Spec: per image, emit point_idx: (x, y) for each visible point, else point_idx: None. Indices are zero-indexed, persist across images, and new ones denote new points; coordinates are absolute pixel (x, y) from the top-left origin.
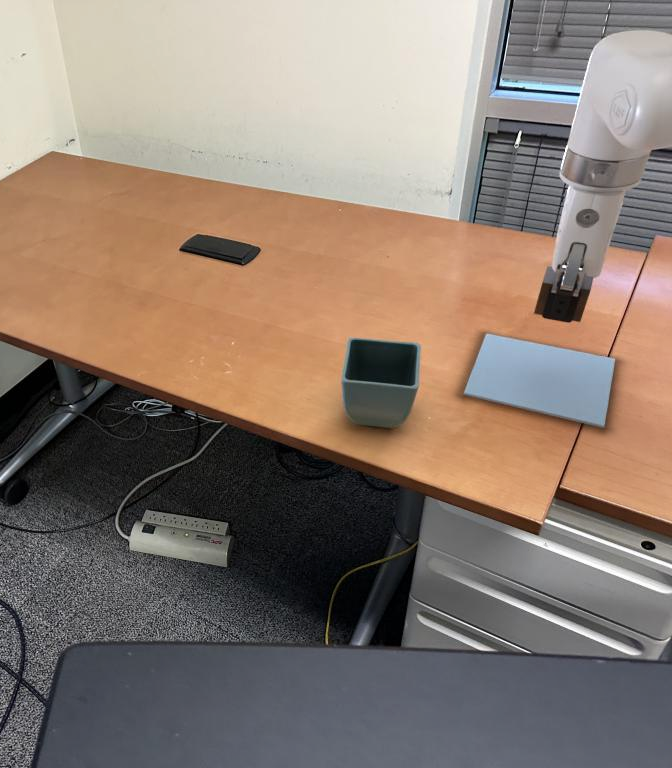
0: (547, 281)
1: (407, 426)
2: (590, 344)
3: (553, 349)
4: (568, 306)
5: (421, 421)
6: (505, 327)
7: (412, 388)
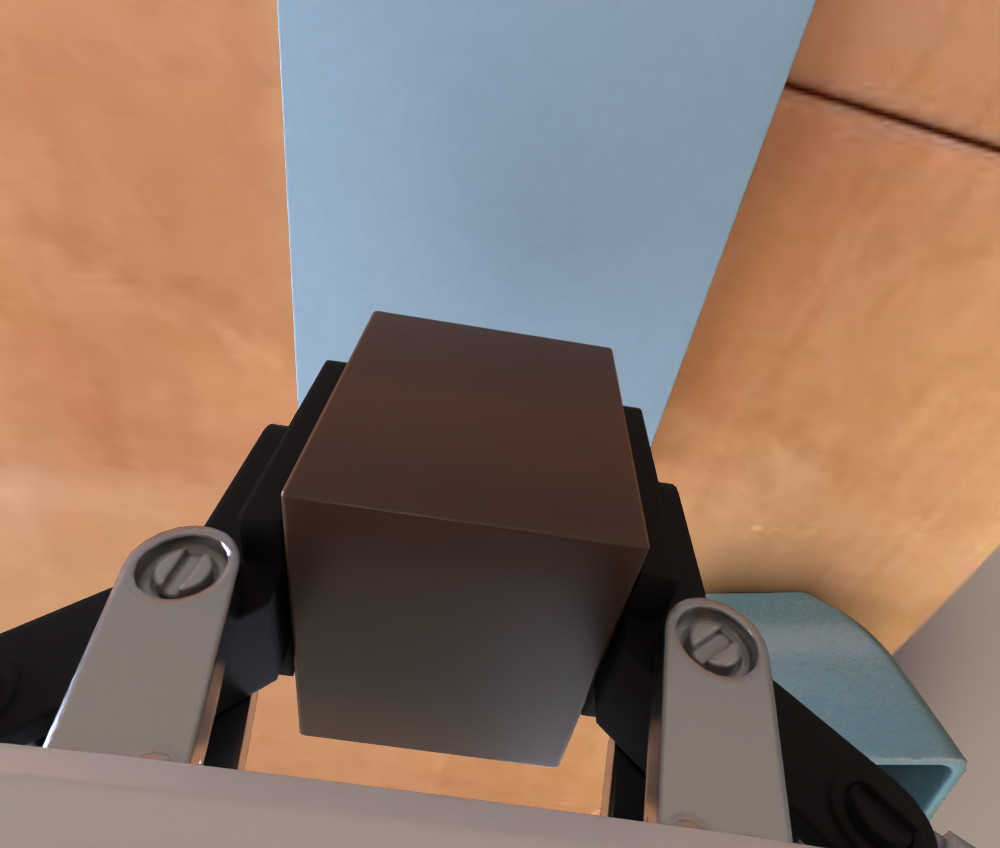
0: (541, 753)
1: (794, 566)
2: (184, 10)
3: (307, 189)
4: (691, 550)
5: (773, 542)
6: (221, 348)
7: (964, 767)
